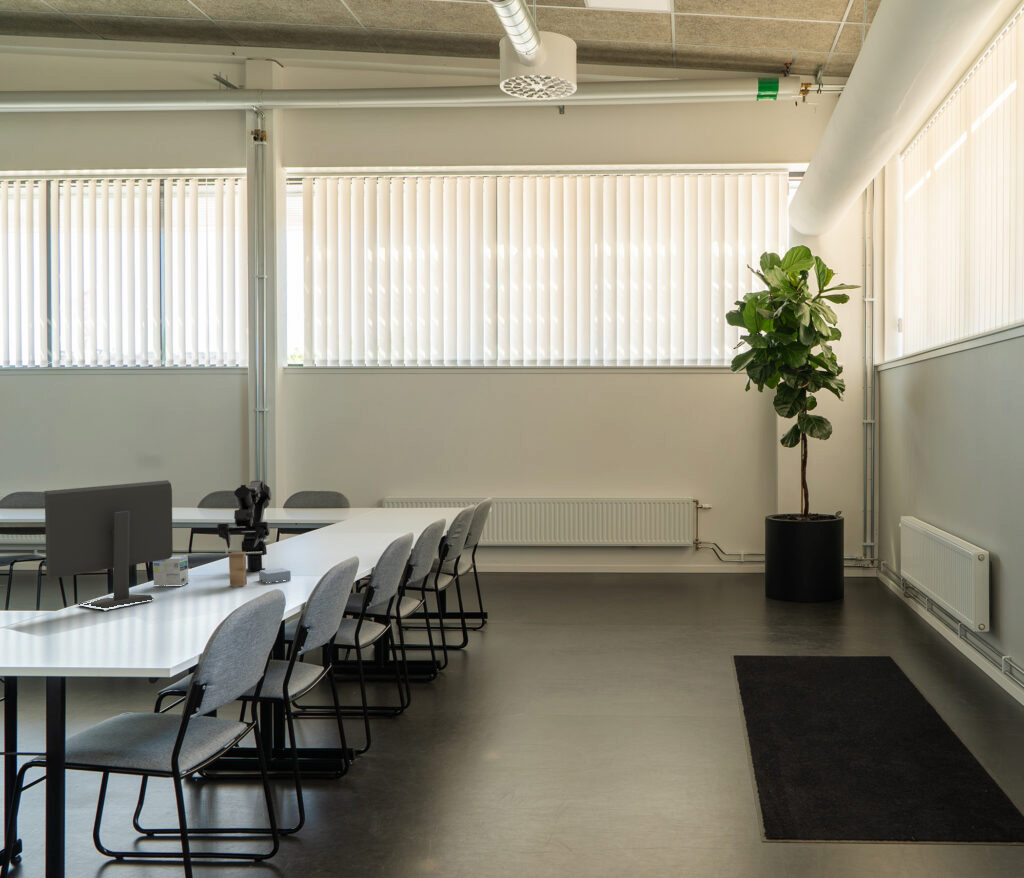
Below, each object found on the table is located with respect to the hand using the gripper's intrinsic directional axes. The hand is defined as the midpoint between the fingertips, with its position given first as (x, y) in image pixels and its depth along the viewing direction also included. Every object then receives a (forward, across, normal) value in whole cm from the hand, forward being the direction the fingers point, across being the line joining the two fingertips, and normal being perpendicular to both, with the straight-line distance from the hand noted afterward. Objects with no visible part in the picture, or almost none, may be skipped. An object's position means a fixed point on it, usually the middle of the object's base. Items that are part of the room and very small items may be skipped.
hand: (240, 547), depth 337 cm
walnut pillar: (+14, 0, +4) cm, 15 cm away
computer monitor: (+32, -35, -13) cm, 49 cm away
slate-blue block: (+9, +12, +10) cm, 18 cm away
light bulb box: (+10, -26, +9) cm, 29 cm away
